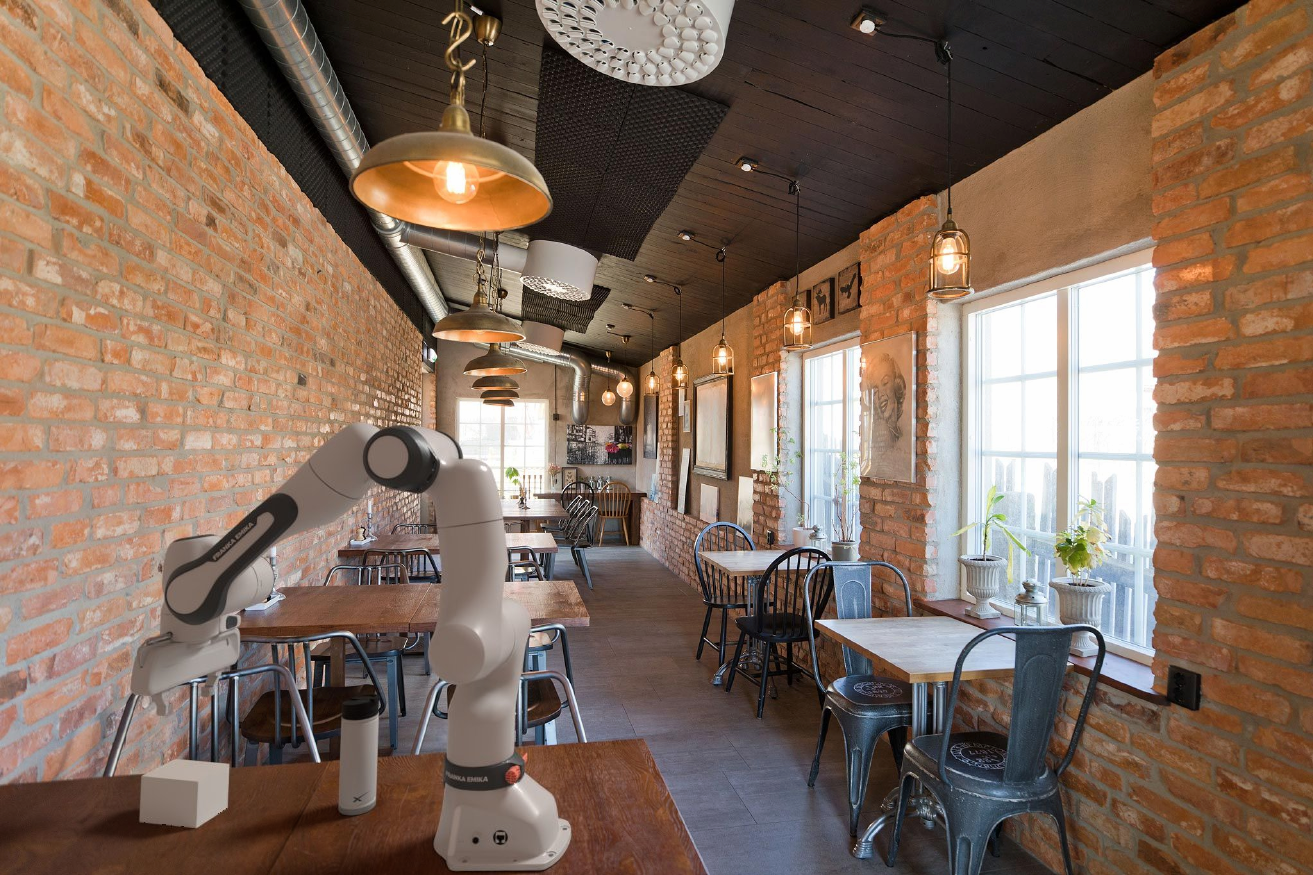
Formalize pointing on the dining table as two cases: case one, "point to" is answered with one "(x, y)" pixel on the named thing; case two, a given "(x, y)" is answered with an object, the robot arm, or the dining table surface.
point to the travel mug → (358, 754)
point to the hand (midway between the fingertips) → (187, 704)
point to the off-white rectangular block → (184, 793)
